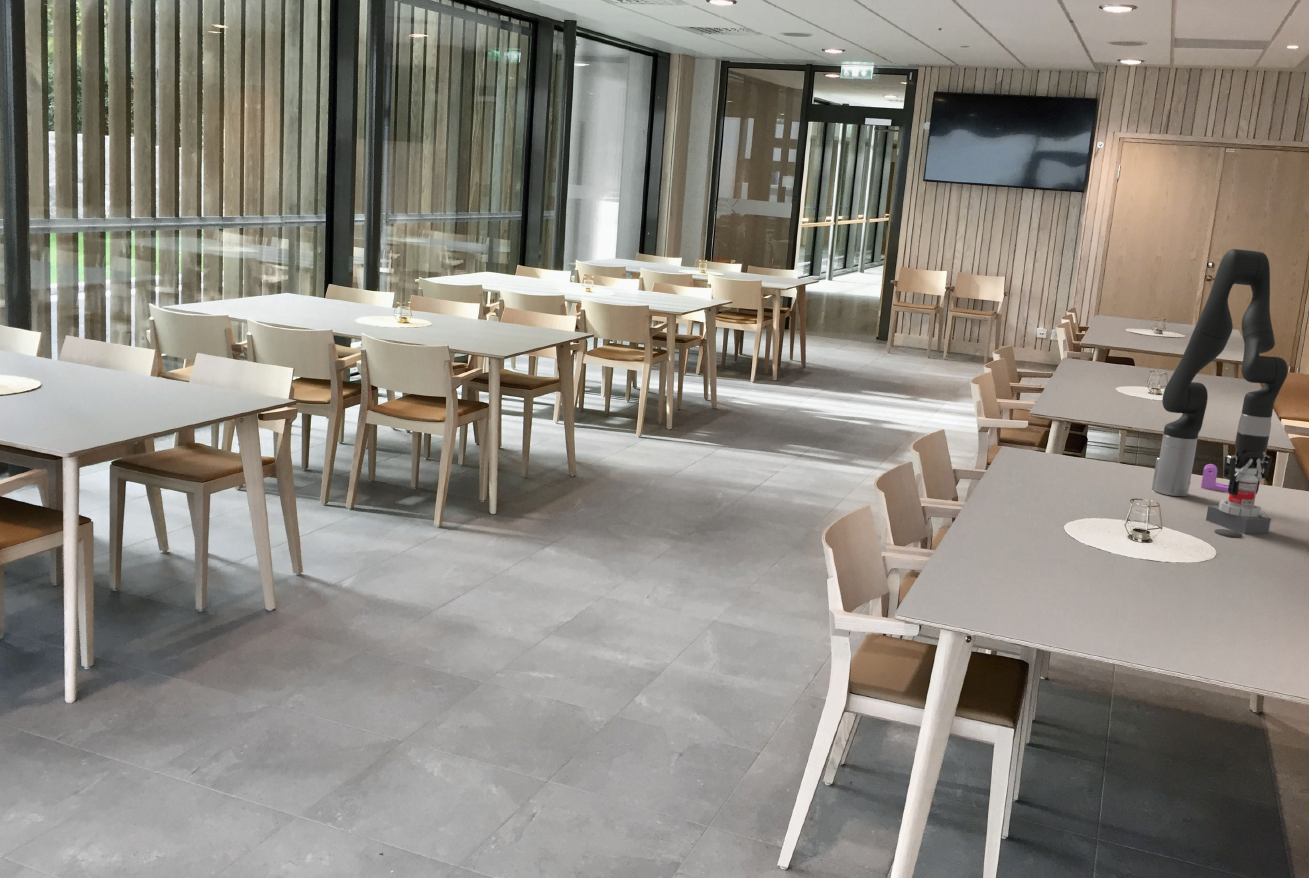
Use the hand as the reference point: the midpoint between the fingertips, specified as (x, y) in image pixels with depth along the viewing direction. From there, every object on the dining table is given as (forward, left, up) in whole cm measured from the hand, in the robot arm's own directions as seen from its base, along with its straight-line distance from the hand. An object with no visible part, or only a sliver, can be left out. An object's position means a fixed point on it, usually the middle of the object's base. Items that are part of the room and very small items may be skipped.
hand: (1242, 493), depth 298 cm
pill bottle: (0, 0, -4) cm, 4 cm away
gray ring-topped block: (0, 0, -9) cm, 9 cm away
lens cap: (+6, -9, -9) cm, 14 cm away
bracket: (-36, +33, -9) cm, 50 cm away
